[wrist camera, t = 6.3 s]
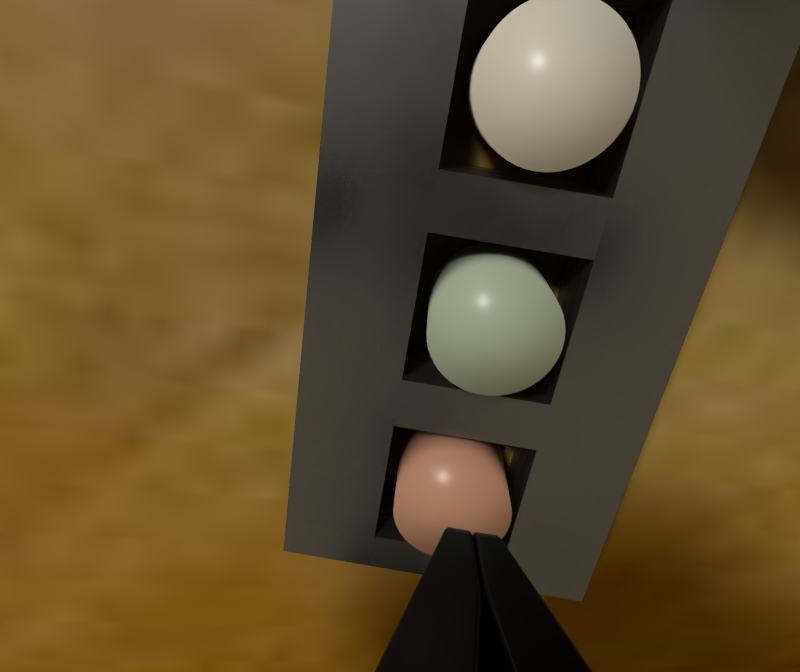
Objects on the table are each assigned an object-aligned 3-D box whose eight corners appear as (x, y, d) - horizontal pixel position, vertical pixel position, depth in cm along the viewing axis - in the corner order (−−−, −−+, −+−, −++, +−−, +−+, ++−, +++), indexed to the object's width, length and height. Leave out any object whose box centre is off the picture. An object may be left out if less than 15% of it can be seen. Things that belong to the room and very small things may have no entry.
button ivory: (583, 170, 15) (611, 184, 13) (455, 149, 15) (458, 158, 13) (623, 24, 14) (664, 7, 11) (483, 1, 14) (492, -23, 11)
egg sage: (530, 361, 18) (545, 405, 15) (420, 343, 18) (416, 383, 15) (560, 253, 16) (582, 281, 14) (440, 233, 16) (439, 257, 14)
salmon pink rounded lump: (490, 508, 20) (497, 567, 18) (392, 491, 20) (385, 548, 18) (513, 424, 19) (524, 476, 16) (408, 406, 19) (403, 455, 16)
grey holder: (774, -29, 14) (838, -54, 11) (567, 550, 21) (581, 601, 19) (361, -97, 14) (345, -135, 12) (300, 504, 21) (283, 550, 19)
